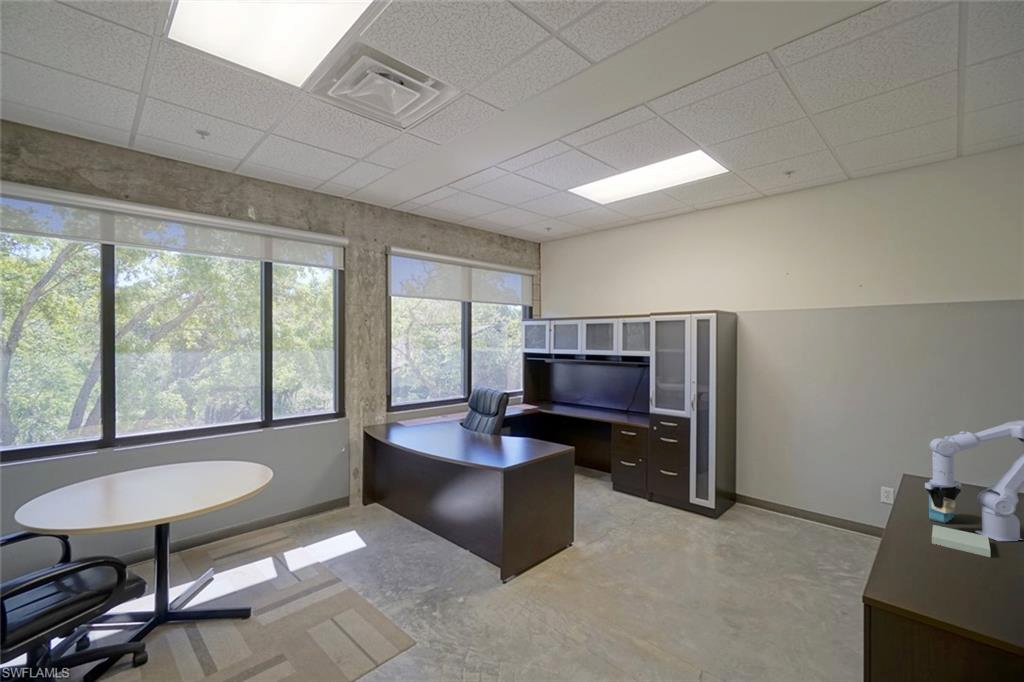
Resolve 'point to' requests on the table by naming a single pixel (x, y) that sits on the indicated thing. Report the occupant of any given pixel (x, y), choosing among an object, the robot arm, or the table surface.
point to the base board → (961, 540)
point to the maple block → (946, 506)
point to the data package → (938, 514)
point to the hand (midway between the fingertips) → (943, 506)
